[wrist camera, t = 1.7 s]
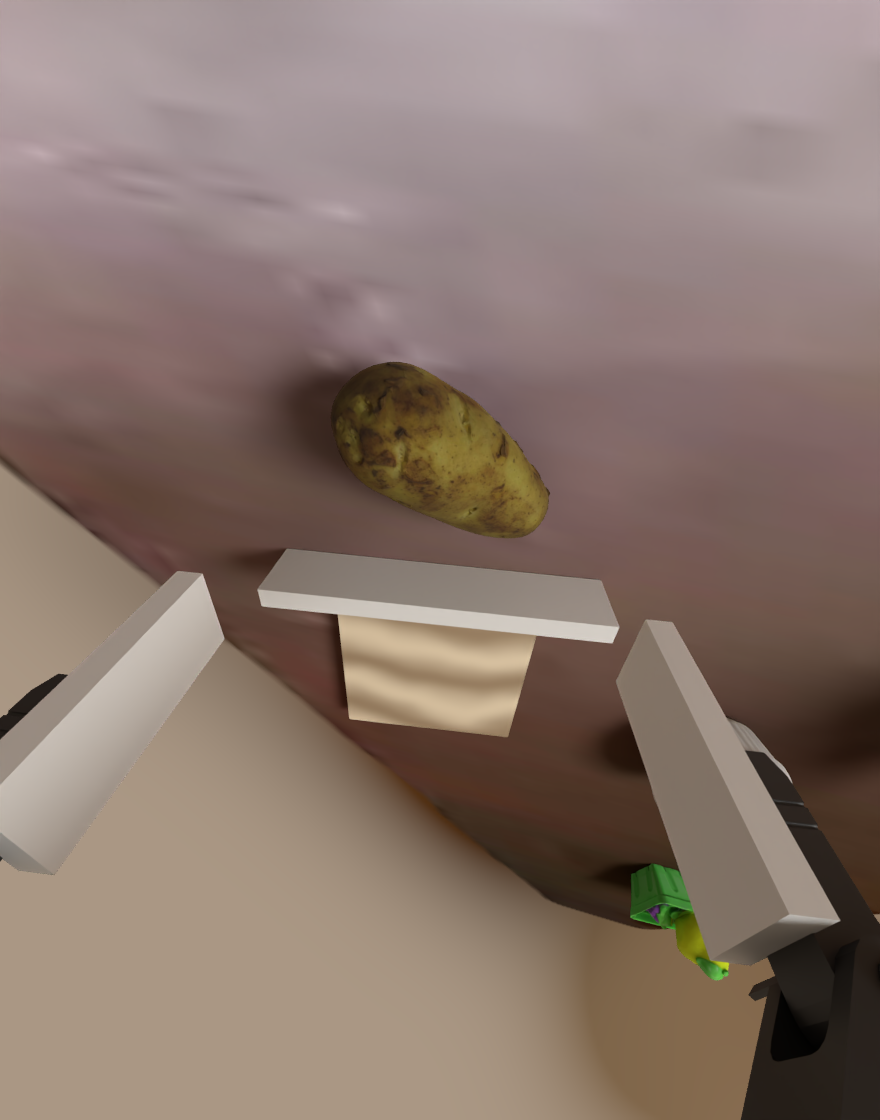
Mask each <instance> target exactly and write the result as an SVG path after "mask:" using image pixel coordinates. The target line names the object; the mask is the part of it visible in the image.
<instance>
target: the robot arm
mask: <svg viewBox="0 0 880 1120" xmlns="http://www.w3.org/2000/svg"><path fill="white" fill-rule="evenodd" d="M223 640H224V636H223V633H222V630H221V627H220V624H219V621H218V618H217V615H216V612H215V609H214V606H213V603H212V600H211V597H210V595H209V592H208V589H207V586H206V583H205V580H204V577H203V574H201V573H191V572H182V571H177V572H176V573H175V574H174V575H173V576H172V577H171V578H170V579H169V580H168V581H167V582H166V583H165V584H163V585H162V586H161V587H160V588H159V589H158V590H157V591H156V592H155V593H154V594H153V595H152V596H151V597H150V598H149V599H148V600H147V601H146V602H145V603H144V604H142V605H141V606H140V607H139V608H138V609H137V610H136V611H135V612H134V613H133V614H132V615H131V616H130V617H129V618H128V619H127V620H126V621H125V622H123V623H122V624H121V625H120V626H119V627H118V628H117V629H116V630H115V631H114V632H113V633H112V634H111V635H110V636H109V637H108V638H107V639H106V640H105V641H103V643H101V644H100V645H99V646H98V647H97V648H96V649H95V650H94V651H93V652H92V653H91V654H90V655H89V656H88V657H87V658H86V659H85V660H83V661H82V662H81V663H80V664H79V665H78V666H77V667H76V668H75V669H74V670H73V671H72V672H71V673H70V674H69V675H64V674H57V675H56V676H54V677H52V678H51V679H49V680H47V681H46V682H44V683H43V684H41V685H39V686H37V687H36V688H34V689H32V690H31V691H30V692H29V693H28V694H26V695H25V696H24V697H23V698H22V699H21V700H20V701H19V702H18V703H16V704H15V705H14V706H13V707H12V708H11V709H10V710H9V711H8V714H7V715H3V716H2V717H1V718H0V861H1V860H2V859H3V860H5V861H6V862H7V863H9V864H10V865H12V866H13V867H15V868H16V869H17V870H19V871H27V872H34V873H42V874H50V875H55V873H56V872H57V871H58V869H59V868H60V866H61V865H62V864H63V862H64V861H65V860H66V858H67V857H68V855H69V854H70V853H71V851H72V850H73V848H74V847H75V846H76V844H77V843H78V842H79V840H80V839H81V837H82V836H83V835H84V833H85V832H86V831H87V829H88V828H89V826H90V825H91V824H92V822H93V821H94V819H95V818H96V817H97V815H98V814H99V812H100V811H101V810H102V808H103V807H104V806H105V804H106V803H107V801H108V800H109V799H110V797H111V796H112V794H113V793H114V792H115V790H116V789H117V787H118V786H119V785H120V783H121V782H122V781H123V779H124V778H125V776H126V775H127V774H128V772H129V771H130V769H131V768H132V767H133V765H134V763H136V761H137V760H138V758H139V757H140V756H141V754H142V753H143V751H144V750H145V749H146V747H147V746H148V744H149V743H150V742H151V740H152V739H153V738H154V736H155V735H156V733H157V732H158V731H159V729H160V728H161V726H162V725H163V724H164V722H165V721H166V719H167V718H168V717H169V715H170V714H171V712H172V711H173V710H174V708H175V707H176V706H177V704H178V703H179V701H180V700H181V699H182V697H183V696H184V694H185V693H186V692H187V690H188V689H189V688H190V686H191V685H192V683H193V682H194V680H195V679H196V678H197V676H198V675H199V674H200V672H201V671H202V669H203V668H204V667H205V665H206V664H207V663H208V661H209V660H210V658H211V657H212V656H213V654H214V653H215V651H216V650H217V649H218V647H219V646H220V644H221V643H222V642H223ZM616 683H617V686H618V689H619V692H620V695H621V698H622V701H623V704H624V707H625V710H626V713H627V716H628V719H629V722H630V725H631V728H632V731H633V734H634V737H635V739H636V742H637V745H638V748H639V751H640V754H641V757H642V760H643V763H644V766H645V769H646V772H647V775H648V778H649V781H650V784H651V787H652V790H653V793H654V796H655V799H656V802H657V805H658V808H659V810H660V813H661V816H662V819H663V822H664V825H665V828H666V831H667V834H668V837H669V840H670V843H671V846H672V849H673V852H674V855H675V858H676V861H677V864H678V867H679V870H680V873H681V876H682V879H683V882H684V884H685V887H686V890H687V893H688V896H689V899H690V902H691V905H692V908H693V911H694V914H695V917H696V920H697V923H698V926H699V929H700V932H701V935H702V938H703V941H704V944H705V947H706V950H707V953H708V955H709V958H710V960H712V961H719V962H727V963H735V964H743V965H753V964H755V963H757V962H759V961H760V960H763V959H765V958H767V957H768V960H769V962H770V964H771V967H772V969H773V971H774V974H775V976H774V977H772V978H770V979H767V980H765V981H763V982H760V983H758V984H756V985H754V987H753V988H752V990H751V992H750V993H749V996H751V998H752V999H754V1000H755V1001H756V1000H759V999H761V998H764V997H766V996H767V999H766V1004H765V1009H764V1013H763V1018H762V1023H761V1028H760V1032H759V1037H758V1042H757V1046H756V1051H755V1056H754V1060H753V1065H752V1070H751V1074H750V1079H749V1084H748V1088H747V1093H746V1098H745V1103H744V1107H743V1112H742V1117H741V1120H880V924H879V922H878V921H877V919H876V918H875V917H874V915H873V913H872V912H871V910H870V908H869V907H868V905H867V904H866V902H865V900H864V899H863V897H862V896H861V894H860V892H859V891H858V889H857V888H856V886H855V884H854V883H853V881H852V879H851V878H850V876H849V875H848V873H847V871H846V870H845V868H844V867H843V865H842V863H841V862H840V860H839V859H838V857H837V855H836V854H835V852H834V850H833V849H832V847H831V846H830V844H829V842H828V841H827V839H826V838H825V836H824V834H823V833H822V831H819V830H818V828H817V823H816V821H815V820H814V818H813V817H812V815H811V813H810V812H809V810H808V809H807V808H805V807H804V805H803V803H804V802H803V801H802V799H801V797H800V796H799V794H798V792H797V791H796V789H795V788H794V786H793V784H792V783H791V781H790V780H789V778H788V776H787V775H786V774H785V773H784V772H783V771H782V770H781V769H780V768H779V767H778V766H777V765H776V764H775V763H774V762H773V761H772V760H771V759H770V758H769V757H768V756H767V755H766V754H765V753H764V752H755V751H747V750H744V748H743V747H742V745H741V743H740V741H739V740H738V738H737V736H736V734H735V732H734V731H733V729H732V727H731V725H730V724H729V722H728V720H727V718H726V717H725V715H724V713H723V711H722V709H721V708H720V706H719V704H718V702H717V701H716V699H715V697H714V695H713V693H712V692H711V690H710V688H709V686H708V685H707V683H706V681H705V679H704V677H703V676H702V674H701V672H700V670H699V669H698V667H697V665H696V663H695V661H694V660H693V658H692V656H691V654H690V653H689V651H688V649H687V647H686V645H685V644H684V642H683V640H682V638H681V637H680V635H679V633H678V631H677V630H676V628H675V626H674V624H673V622H665V621H656V620H645V622H644V624H643V626H642V628H641V630H640V632H639V634H638V636H637V638H636V640H635V643H634V645H633V647H632V649H631V651H630V653H629V655H628V657H627V659H626V661H625V663H624V666H623V668H622V670H621V672H620V674H619V676H618V678H617V680H616Z"/></svg>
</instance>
